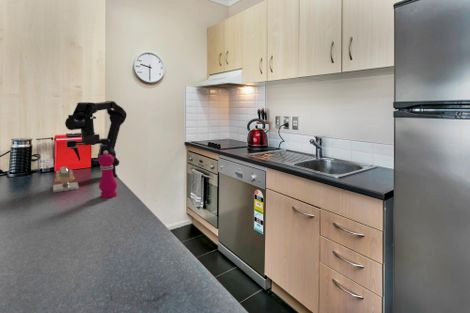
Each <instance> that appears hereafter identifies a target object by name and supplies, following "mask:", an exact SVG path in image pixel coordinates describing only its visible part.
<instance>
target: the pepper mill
mask: <svg viewBox="0 0 470 313" xmlns="http://www.w3.org/2000/svg"><path fill="white" fill-rule="evenodd" d="M103 153H104V154H103V155H101V156H100V157H99V159H98V158H97V161H98V163H99V167H100V168H99V169H100V170H101V178H100V181H99V182H98V183H99V185H98V189H99V190H100V191H101V192H100V197H101V198H103V199H110V198H114V197H117V195H118V194H117V193H118V192H117V188H118V182H117V180H116V178H115V177H114V176H113V173H112V169H113V165H112V164H113V162H114V158H113V156H112V155H110V154H108V151H106V150H105V151H104V152H103ZM100 164H101V166H100Z"/></svg>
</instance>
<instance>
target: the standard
mask: <svg viewBox="0 0 470 313" xmlns="http://www.w3.org/2000/svg"><path fill="white" fill-rule="evenodd" d="M59 169H60V171H61V173H68V170H69V169H68V166H61V167H60V168H59ZM73 178H74V179H67V180H59V181H57V177H55V178H54V181H55V182H56V183H59V184H53V185H52V188H53V189H52V191H53V193H60V192H66V191H67V192H68V191H73V190H74V191H75V190H79V189H80V187H79V183H78V181H76V182H72V181H75V179H76V177H75V176H74V175H73Z"/></svg>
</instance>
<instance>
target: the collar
mask: <svg viewBox="0 0 470 313" xmlns="http://www.w3.org/2000/svg"><path fill="white" fill-rule="evenodd" d="M55 175H56V176H55V178H57V181H59V180H67V179H74V178H73V176H74V171H73V169H68V173H61V170H56V172H55ZM74 180H75V179H74Z"/></svg>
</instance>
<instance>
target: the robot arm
mask: <svg viewBox="0 0 470 313" xmlns="http://www.w3.org/2000/svg"><path fill="white" fill-rule="evenodd" d="M74 108H75V109H73V110H74V111H73V113H72V114H68V117H67V118H66V119H65V122H64V125H65V127H66V129H67V130H69V131H77V130H80V133H81V134H80V135H81V140H80V141H77V140H76V139H73V140H72V139H69V140H66V141H65V142H66V148H69V149H71V150H73V151H74V153H75V155H76V157H77V160H78V161H79V162H81V157H80V153H79V148H78V146H83V145H84V146H95V145H99V150H98V153H97V160H98V159H99V157H100V156H101V155H103V154H104V153H103V152H104V151H105V150H106V151H108V154H110V155H112V156H113V158H114V162H113V164H112V165H113V169H112V173H113V176H114V178H115V177H118V174H117V170H116V167H117V166H119V165H120V159H118V158H117V157H116V156H117V152H116V150H115V148H116V143H117V140H118V136H119V133H120V132H119V131H120V127H121V125H123V123H125V120H126V118H127V112H126V110H125V109H124V108H123V107H121V106H120V105H118V104H117V102H116V101H113V100H107V101H102V102H88V101H87V102H77V103H76V107H74ZM105 110H106V113H107V114H108V116H109V122H110V125H109V130H108V133H107V136H106V138H100V134H99V133H98V134H95V125H94V120H95V119H97V117H96V116H95V115H94V114H96V113H97V112H99V111H105ZM100 166H101V164H99V167H100Z"/></svg>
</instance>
